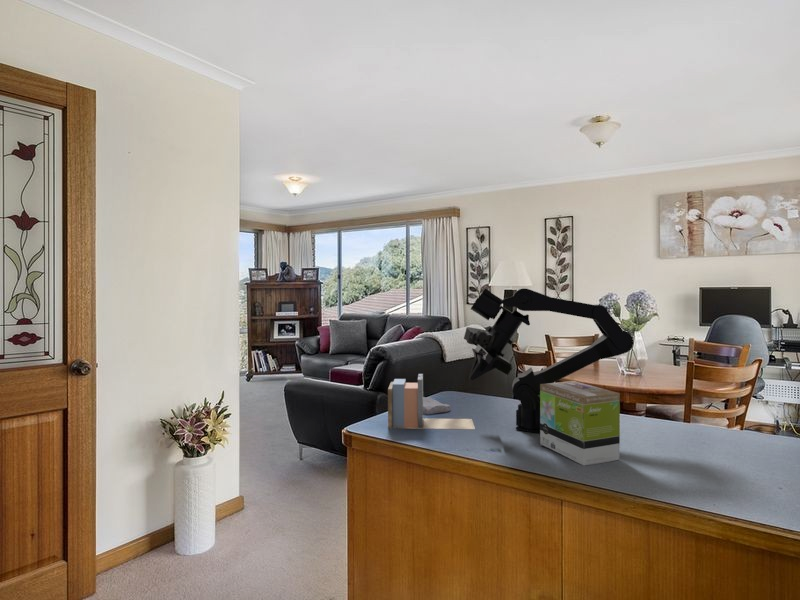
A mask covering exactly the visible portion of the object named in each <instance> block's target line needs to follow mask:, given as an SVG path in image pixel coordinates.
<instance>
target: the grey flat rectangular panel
mask: <svg viewBox="0 0 800 600" xmlns="http://www.w3.org/2000/svg"><path fill="white" fill-rule="evenodd" d="M417 383H418V427H423V418H424V413H423V397H424V373H418V375H417Z"/></svg>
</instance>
